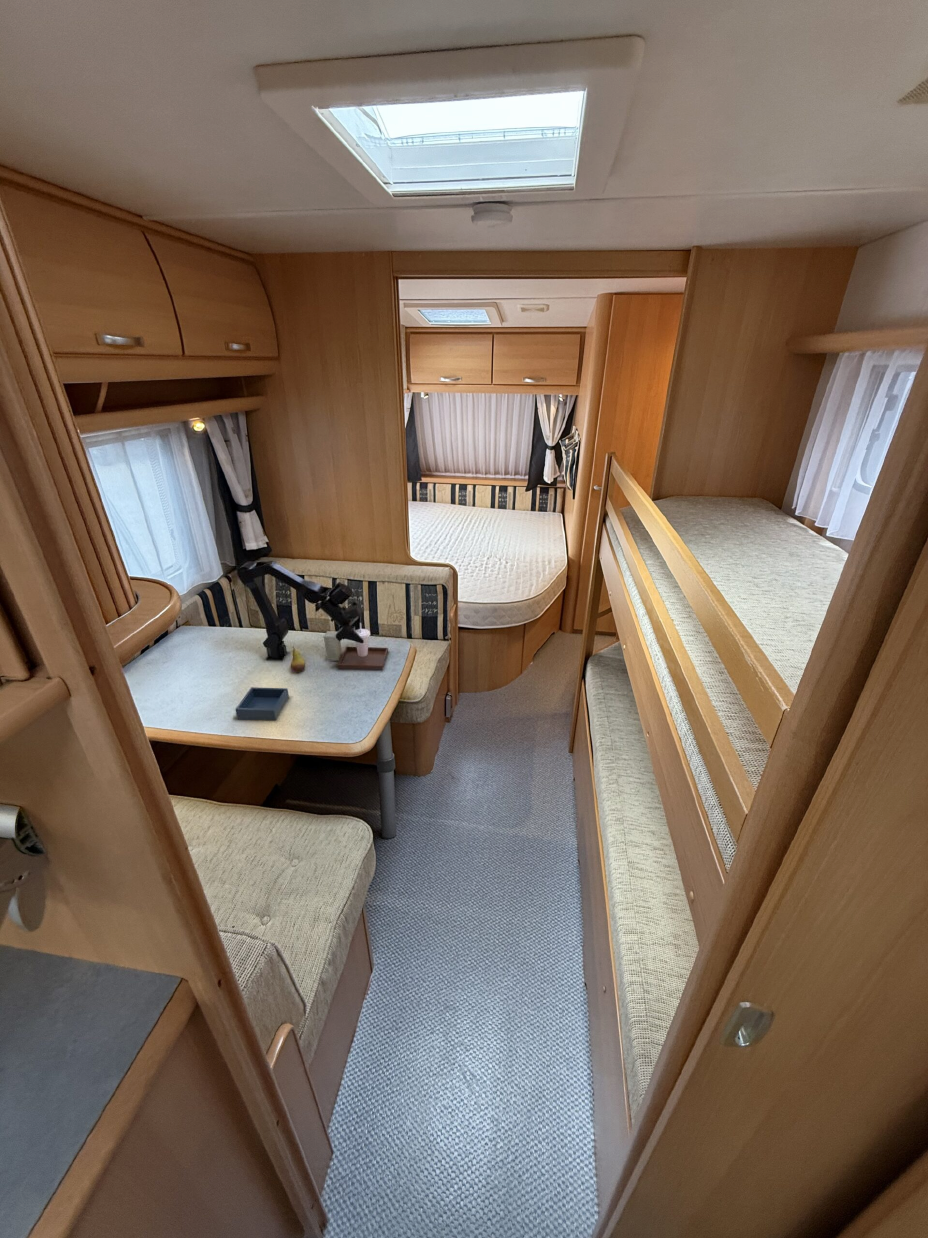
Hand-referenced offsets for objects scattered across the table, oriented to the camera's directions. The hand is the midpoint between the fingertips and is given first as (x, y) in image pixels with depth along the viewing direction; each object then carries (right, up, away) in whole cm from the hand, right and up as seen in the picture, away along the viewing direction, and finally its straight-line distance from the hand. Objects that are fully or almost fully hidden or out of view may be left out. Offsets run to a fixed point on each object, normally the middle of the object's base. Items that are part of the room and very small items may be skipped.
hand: (365, 638), depth 191 cm
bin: (-29, -23, -25) cm, 44 cm away
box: (-13, -8, +6) cm, 17 cm away
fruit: (-25, -12, -3) cm, 28 cm away
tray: (-1, -9, +4) cm, 10 cm away
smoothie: (-2, -6, +3) cm, 7 cm away
